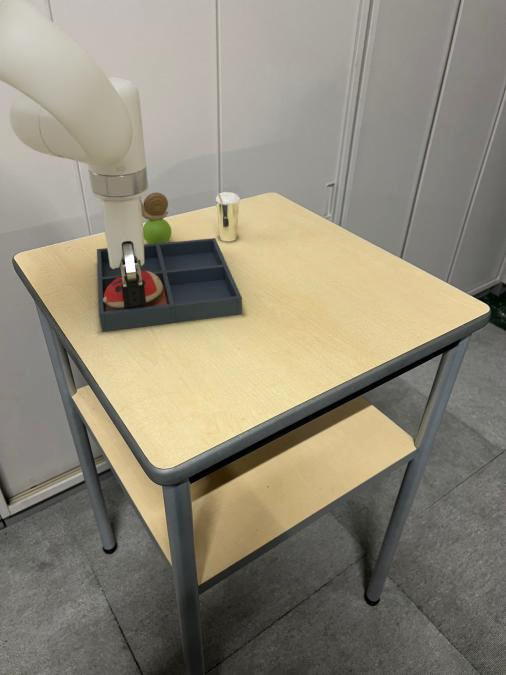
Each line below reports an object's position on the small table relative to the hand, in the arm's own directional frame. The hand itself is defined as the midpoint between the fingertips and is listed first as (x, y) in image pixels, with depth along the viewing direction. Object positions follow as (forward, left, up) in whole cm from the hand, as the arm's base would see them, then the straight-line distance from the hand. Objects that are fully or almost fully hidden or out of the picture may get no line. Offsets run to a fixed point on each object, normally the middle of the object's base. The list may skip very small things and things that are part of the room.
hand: (133, 292), depth 80 cm
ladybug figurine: (0, 0, -1) cm, 1 cm away
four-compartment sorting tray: (+5, +5, -3) cm, 8 cm away
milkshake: (+19, +21, -3) cm, 29 cm away
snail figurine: (+5, +21, -3) cm, 22 cm away
